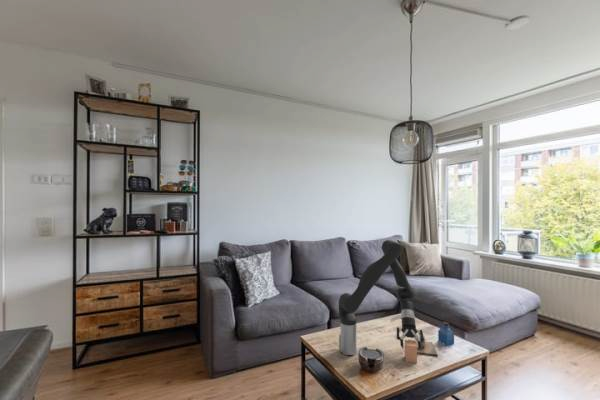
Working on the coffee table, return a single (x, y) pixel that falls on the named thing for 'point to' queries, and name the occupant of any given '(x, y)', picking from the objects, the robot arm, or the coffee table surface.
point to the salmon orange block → (410, 351)
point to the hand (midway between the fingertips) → (411, 348)
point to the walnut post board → (426, 348)
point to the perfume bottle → (446, 334)
